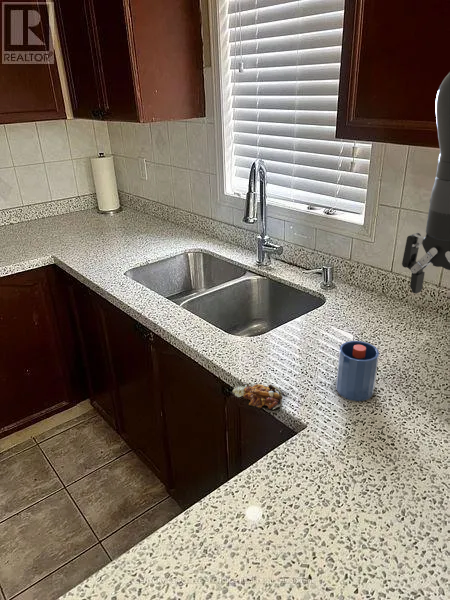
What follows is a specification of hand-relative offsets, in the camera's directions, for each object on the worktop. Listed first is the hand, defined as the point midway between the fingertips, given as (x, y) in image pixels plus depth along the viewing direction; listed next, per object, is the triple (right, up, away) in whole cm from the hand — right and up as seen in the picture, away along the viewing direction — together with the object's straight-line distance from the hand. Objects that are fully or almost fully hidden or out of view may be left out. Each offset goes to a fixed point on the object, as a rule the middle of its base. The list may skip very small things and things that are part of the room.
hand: (438, 299), depth 78 cm
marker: (-8, -20, +24) cm, 33 cm away
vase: (-8, -21, +25) cm, 33 cm away
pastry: (-30, -23, +23) cm, 44 cm away
